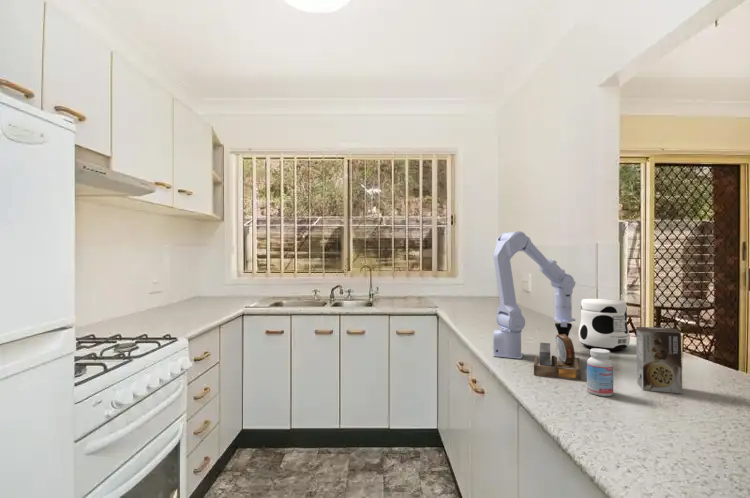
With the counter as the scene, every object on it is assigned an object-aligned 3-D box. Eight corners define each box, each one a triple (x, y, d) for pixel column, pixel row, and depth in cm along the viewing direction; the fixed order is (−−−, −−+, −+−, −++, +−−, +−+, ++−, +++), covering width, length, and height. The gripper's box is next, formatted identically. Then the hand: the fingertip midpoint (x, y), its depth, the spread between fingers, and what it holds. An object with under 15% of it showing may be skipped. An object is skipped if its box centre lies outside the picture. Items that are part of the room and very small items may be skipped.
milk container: (582, 340, 171) (582, 297, 171) (631, 346, 160) (631, 300, 160) (574, 349, 156) (574, 301, 157) (627, 355, 146) (627, 305, 146)
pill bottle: (603, 398, 105) (603, 354, 105) (582, 391, 110) (581, 349, 110) (618, 394, 107) (618, 351, 107) (596, 387, 113) (596, 346, 113)
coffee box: (673, 386, 114) (673, 327, 114) (682, 394, 107) (682, 332, 108) (635, 383, 117) (635, 326, 117) (642, 390, 110) (642, 330, 110)
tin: (575, 367, 131) (575, 340, 132) (565, 366, 132) (565, 340, 132) (564, 356, 146) (563, 332, 146) (554, 355, 147) (554, 331, 147)
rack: (533, 375, 124) (533, 352, 124) (535, 362, 138) (535, 341, 138) (582, 380, 119) (582, 356, 119) (579, 366, 133) (578, 344, 133)
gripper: (576, 309, 143) (576, 348, 143) (574, 304, 156) (574, 340, 156) (554, 308, 146) (554, 347, 146) (553, 303, 159) (554, 338, 159)
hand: (563, 343), depth 151 cm, fingers closed
